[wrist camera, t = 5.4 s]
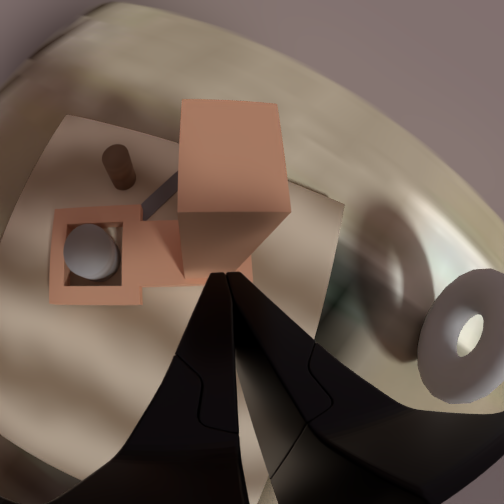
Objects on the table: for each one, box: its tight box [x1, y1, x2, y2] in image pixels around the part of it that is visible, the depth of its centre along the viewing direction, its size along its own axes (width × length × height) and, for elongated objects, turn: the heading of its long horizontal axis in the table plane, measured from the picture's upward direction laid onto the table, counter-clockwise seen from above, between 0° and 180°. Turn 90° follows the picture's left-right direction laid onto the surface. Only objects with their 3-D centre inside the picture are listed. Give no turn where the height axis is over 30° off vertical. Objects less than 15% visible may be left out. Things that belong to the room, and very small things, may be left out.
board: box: [0, 114, 345, 504], centre depth 15 cm, size 24×22×4 cm
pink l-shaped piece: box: [49, 99, 291, 305], centre depth 11 cm, size 12×6×11 cm, turn 94°
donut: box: [417, 269, 504, 404], centre depth 16 cm, size 10×3×10 cm, turn 156°
